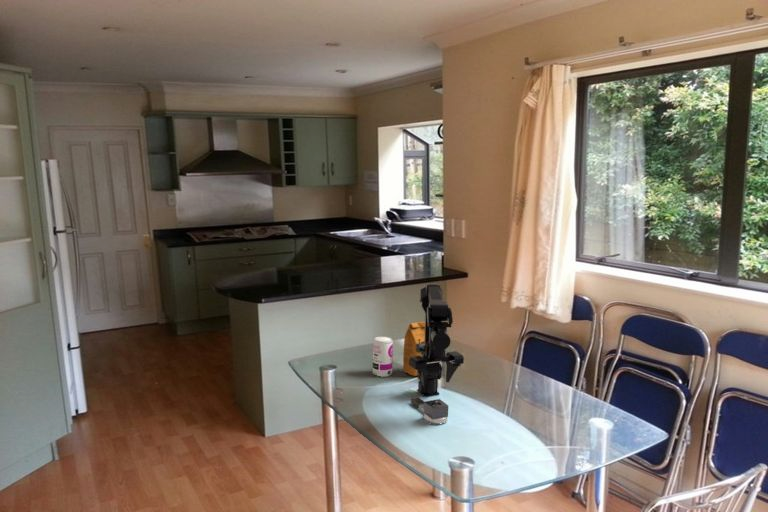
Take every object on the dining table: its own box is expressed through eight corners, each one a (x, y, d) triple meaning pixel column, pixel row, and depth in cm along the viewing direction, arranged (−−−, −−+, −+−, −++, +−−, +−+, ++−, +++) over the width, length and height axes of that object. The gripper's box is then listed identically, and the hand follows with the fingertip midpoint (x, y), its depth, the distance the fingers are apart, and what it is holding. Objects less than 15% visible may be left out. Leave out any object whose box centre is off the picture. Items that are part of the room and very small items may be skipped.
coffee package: (438, 374, 245) (440, 322, 242) (413, 379, 239) (415, 326, 236) (424, 367, 254) (426, 317, 250) (400, 371, 247) (401, 320, 244)
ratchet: (424, 401, 217) (425, 384, 216) (451, 422, 199) (452, 404, 198) (405, 404, 213) (405, 387, 212) (430, 426, 196) (431, 407, 195)
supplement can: (394, 372, 246) (395, 337, 244) (388, 378, 239) (389, 342, 236) (376, 369, 249) (377, 335, 247) (369, 375, 241) (370, 340, 239)
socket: (439, 410, 205) (439, 399, 204) (447, 416, 199) (448, 405, 199) (423, 412, 202) (424, 401, 202) (432, 419, 197) (432, 408, 196)
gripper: (449, 330, 211) (447, 372, 213) (402, 336, 203) (400, 379, 206) (465, 340, 201) (463, 383, 203) (417, 346, 193) (415, 391, 196)
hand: (435, 384), depth 202 cm, fingers open, 9 cm apart
